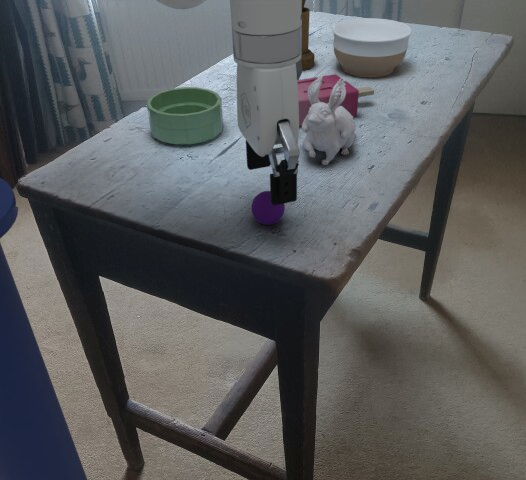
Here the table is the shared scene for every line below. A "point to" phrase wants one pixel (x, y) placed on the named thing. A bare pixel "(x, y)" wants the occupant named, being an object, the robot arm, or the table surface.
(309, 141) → the figurine
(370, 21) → the bowl
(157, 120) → the green bowl
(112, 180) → the table surface
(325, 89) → the popsicle
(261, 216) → the ball
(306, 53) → the wooden pepper mill
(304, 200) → the table surface
